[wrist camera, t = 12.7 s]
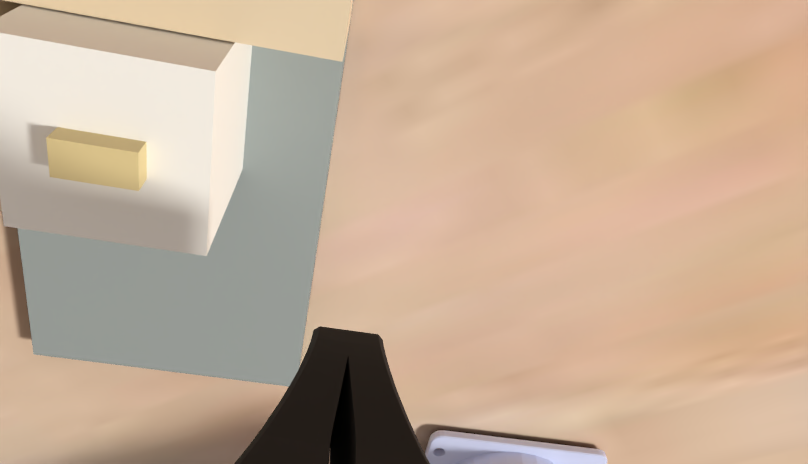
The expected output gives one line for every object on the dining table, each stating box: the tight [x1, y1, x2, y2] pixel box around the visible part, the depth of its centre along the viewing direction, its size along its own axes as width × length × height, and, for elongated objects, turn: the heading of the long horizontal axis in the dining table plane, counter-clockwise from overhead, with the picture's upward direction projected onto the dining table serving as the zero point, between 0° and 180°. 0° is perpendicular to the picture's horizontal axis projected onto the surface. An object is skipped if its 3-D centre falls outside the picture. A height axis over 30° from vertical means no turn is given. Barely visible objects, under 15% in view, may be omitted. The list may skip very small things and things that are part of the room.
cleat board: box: [0, 0, 354, 386], centre depth 21 cm, size 16×10×4 cm, turn 169°
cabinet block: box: [0, 4, 252, 256], centre depth 18 cm, size 5×5×6 cm
